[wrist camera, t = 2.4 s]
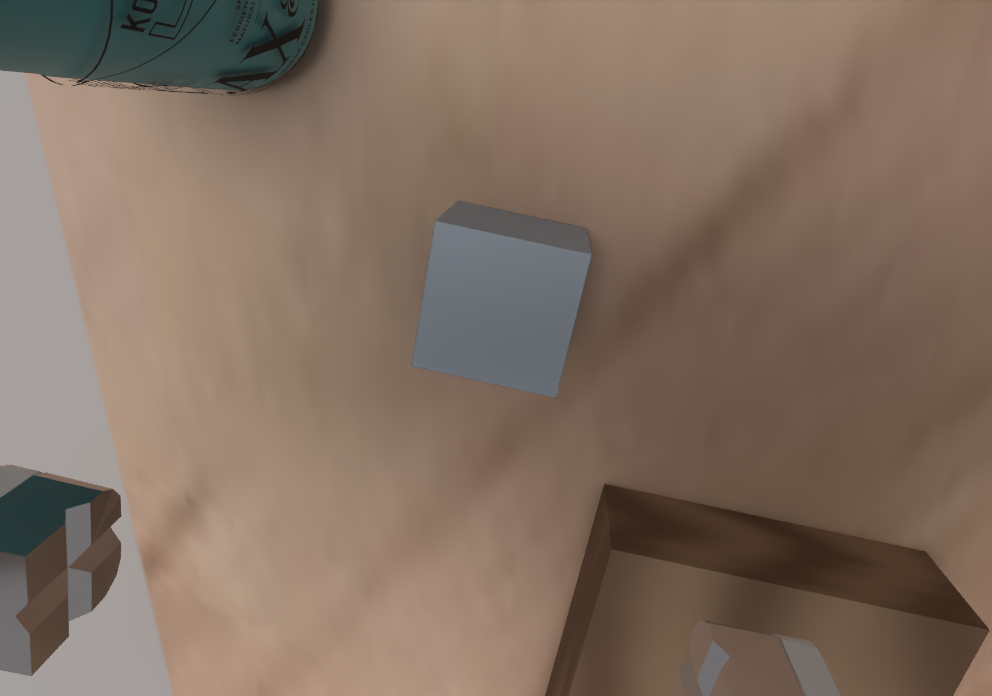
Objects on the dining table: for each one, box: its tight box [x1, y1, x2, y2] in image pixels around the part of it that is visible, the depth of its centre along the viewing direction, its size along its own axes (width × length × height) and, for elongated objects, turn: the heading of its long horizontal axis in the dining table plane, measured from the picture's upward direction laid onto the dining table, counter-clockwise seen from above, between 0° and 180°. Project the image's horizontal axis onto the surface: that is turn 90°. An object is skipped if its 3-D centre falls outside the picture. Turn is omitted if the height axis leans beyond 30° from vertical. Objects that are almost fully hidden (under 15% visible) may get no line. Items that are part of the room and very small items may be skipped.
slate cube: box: [411, 201, 592, 398], centre depth 24 cm, size 5×5×5 cm
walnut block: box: [545, 484, 989, 696], centre depth 29 cm, size 14×14×5 cm
